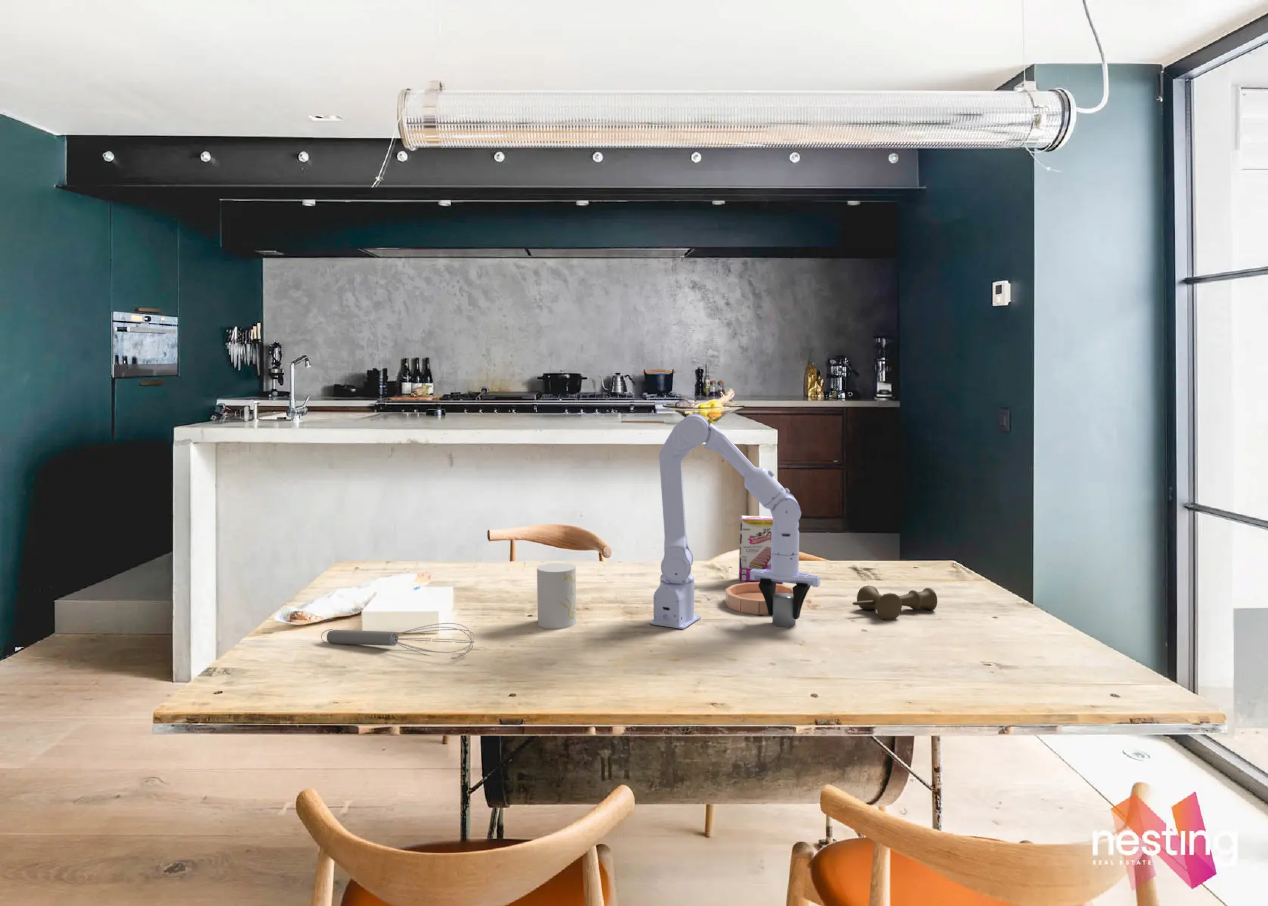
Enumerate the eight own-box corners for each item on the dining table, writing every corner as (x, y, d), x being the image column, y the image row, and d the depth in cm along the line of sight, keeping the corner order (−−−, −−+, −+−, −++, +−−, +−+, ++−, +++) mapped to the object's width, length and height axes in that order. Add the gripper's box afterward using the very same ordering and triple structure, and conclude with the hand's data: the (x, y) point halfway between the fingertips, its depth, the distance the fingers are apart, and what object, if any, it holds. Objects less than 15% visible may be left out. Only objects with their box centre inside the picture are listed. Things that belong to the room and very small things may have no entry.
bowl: (785, 618, 178) (785, 604, 178) (715, 608, 186) (715, 595, 185) (805, 599, 192) (806, 587, 192) (740, 591, 200) (740, 579, 199)
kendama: (945, 617, 180) (864, 623, 175) (918, 607, 189) (840, 611, 184) (946, 590, 180) (865, 595, 174) (919, 581, 189) (841, 585, 184)
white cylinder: (570, 629, 171) (569, 572, 170) (532, 627, 172) (531, 570, 171) (580, 618, 179) (580, 563, 178) (544, 616, 180) (543, 562, 179)
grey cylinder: (791, 628, 171) (792, 600, 170) (769, 625, 173) (769, 597, 173) (798, 622, 175) (798, 594, 175) (776, 619, 177) (776, 591, 177)
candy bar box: (739, 583, 208) (739, 518, 206) (738, 578, 213) (739, 515, 211) (784, 584, 207) (785, 519, 205) (782, 579, 212) (783, 515, 210)
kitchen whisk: (331, 637, 167) (330, 606, 167) (481, 654, 157) (480, 622, 156) (310, 647, 161) (309, 615, 161) (465, 665, 151) (464, 632, 151)
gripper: (824, 552, 173) (823, 615, 174) (758, 545, 180) (757, 606, 181) (815, 559, 167) (814, 624, 168) (746, 552, 173) (746, 615, 175)
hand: (784, 616), depth 174 cm, fingers closed on grey cylinder, 5 cm apart
